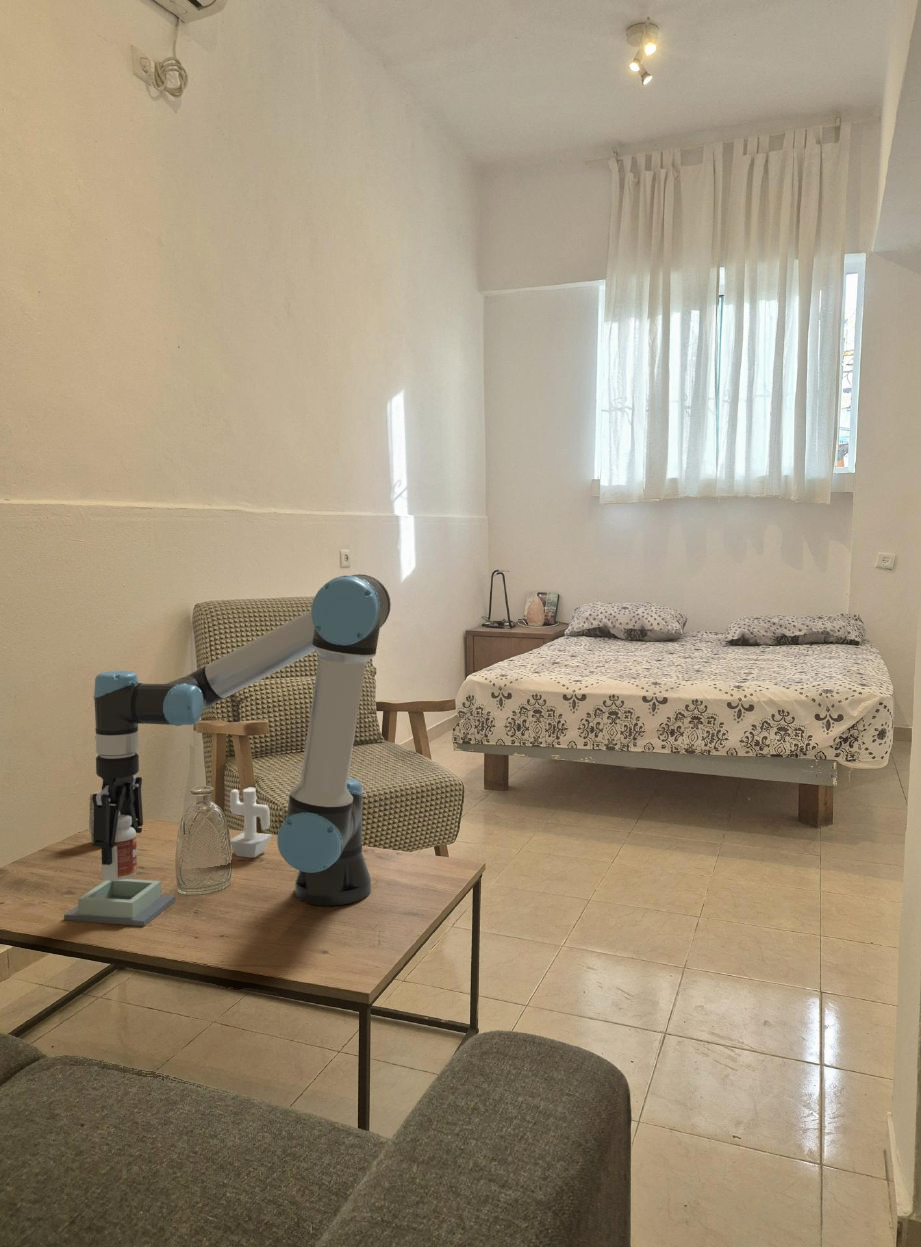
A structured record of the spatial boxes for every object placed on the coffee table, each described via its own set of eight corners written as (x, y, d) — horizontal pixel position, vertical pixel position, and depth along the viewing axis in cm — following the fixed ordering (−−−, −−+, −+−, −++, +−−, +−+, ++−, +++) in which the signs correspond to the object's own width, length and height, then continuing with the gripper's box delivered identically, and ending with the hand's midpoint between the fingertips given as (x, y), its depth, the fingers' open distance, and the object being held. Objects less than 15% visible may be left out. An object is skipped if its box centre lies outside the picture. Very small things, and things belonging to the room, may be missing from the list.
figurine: (260, 861, 198) (260, 794, 197) (223, 856, 201) (222, 791, 199) (277, 850, 205) (276, 786, 203) (240, 846, 208) (239, 782, 206)
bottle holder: (175, 900, 176) (175, 881, 175) (144, 926, 164) (143, 905, 164) (100, 895, 178) (99, 875, 178) (64, 919, 167) (63, 899, 166)
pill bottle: (140, 877, 170) (139, 819, 169) (106, 883, 166) (105, 825, 165) (132, 867, 175) (131, 811, 174) (99, 873, 171) (97, 816, 170)
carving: (83, 846, 207) (81, 795, 206) (104, 836, 214) (103, 787, 213) (107, 849, 205) (105, 797, 204) (127, 838, 212) (126, 789, 211)
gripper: (125, 741, 179) (128, 854, 181) (68, 765, 160) (72, 890, 162) (160, 743, 177) (162, 857, 179) (107, 767, 158) (110, 893, 161)
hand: (119, 873), depth 171 cm, fingers closed on pill bottle, 6 cm apart
